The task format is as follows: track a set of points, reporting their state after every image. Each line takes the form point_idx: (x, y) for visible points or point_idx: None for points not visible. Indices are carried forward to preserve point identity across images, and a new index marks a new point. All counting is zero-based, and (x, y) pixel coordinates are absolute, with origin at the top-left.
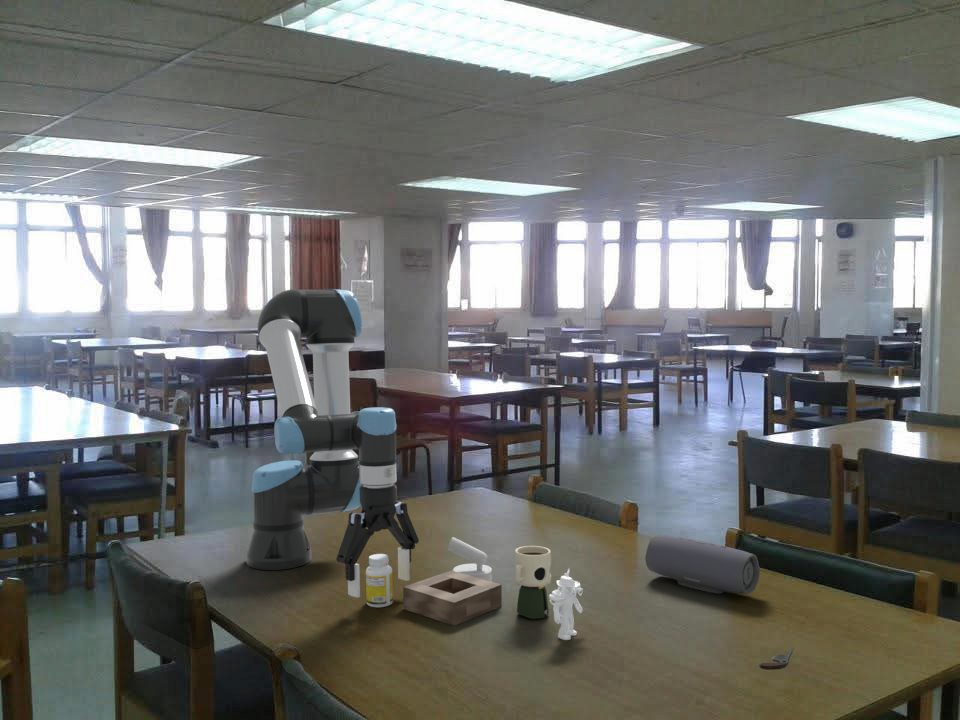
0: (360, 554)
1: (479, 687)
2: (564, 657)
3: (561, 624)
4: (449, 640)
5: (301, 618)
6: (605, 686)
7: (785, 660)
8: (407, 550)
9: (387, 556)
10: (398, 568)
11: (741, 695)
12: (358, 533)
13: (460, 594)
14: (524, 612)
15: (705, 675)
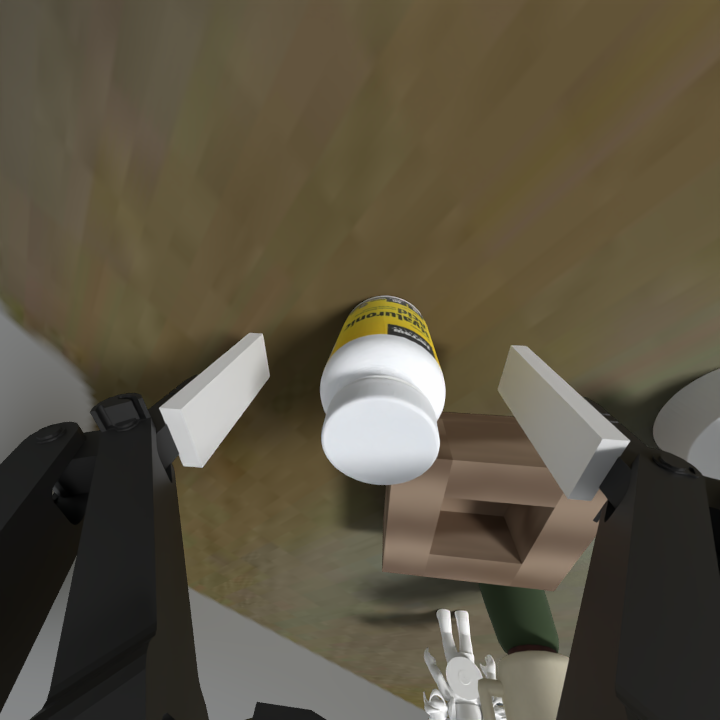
0: (178, 514)
1: (258, 595)
2: (386, 622)
3: (442, 638)
4: (328, 536)
5: (129, 239)
6: (352, 647)
7: (500, 704)
8: (573, 497)
9: (410, 478)
10: (531, 368)
11: (409, 689)
12: (61, 666)
13: (435, 563)
14: (481, 590)
15: (431, 679)
